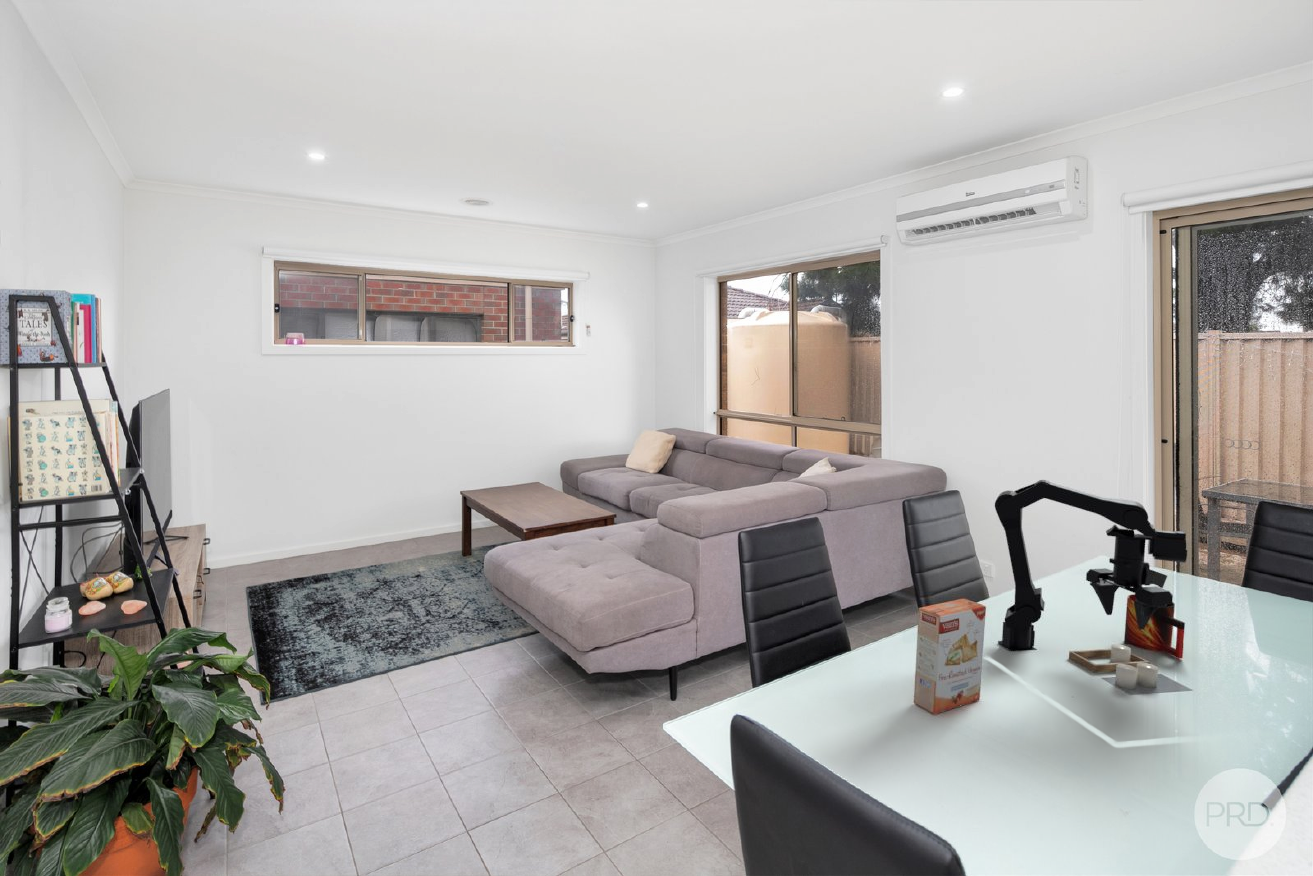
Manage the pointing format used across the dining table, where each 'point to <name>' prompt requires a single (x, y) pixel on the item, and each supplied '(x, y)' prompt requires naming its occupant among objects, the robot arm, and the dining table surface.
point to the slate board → (1162, 686)
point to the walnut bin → (1099, 668)
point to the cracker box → (949, 654)
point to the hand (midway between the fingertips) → (1124, 621)
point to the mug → (1154, 630)
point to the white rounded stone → (1126, 676)
